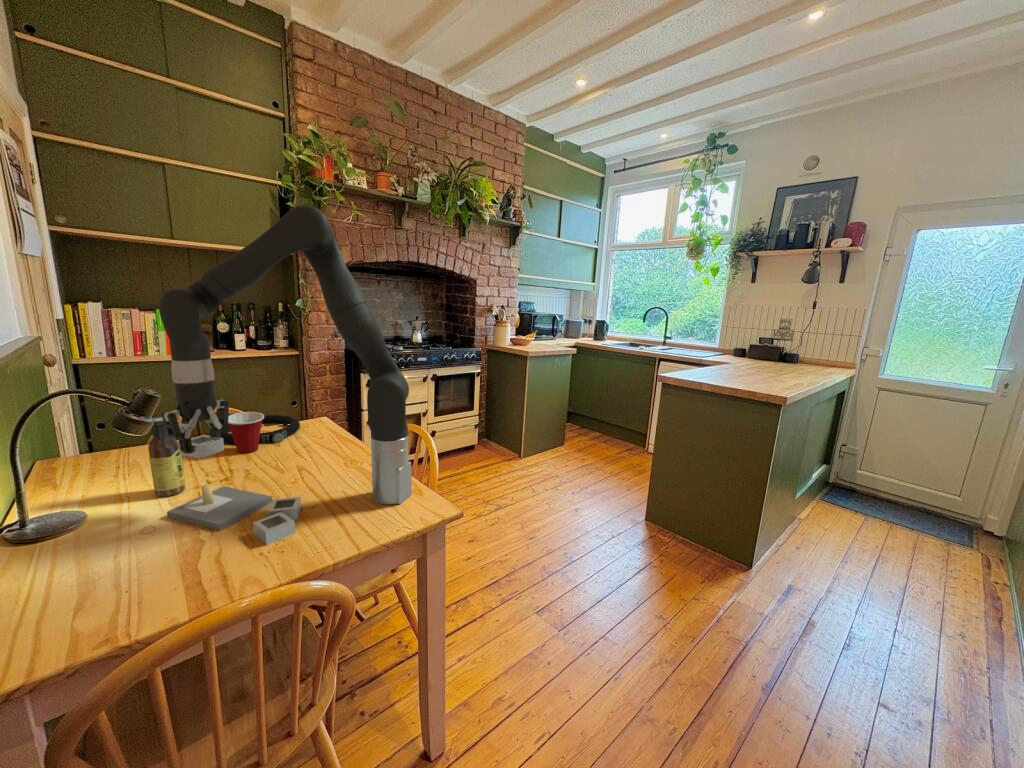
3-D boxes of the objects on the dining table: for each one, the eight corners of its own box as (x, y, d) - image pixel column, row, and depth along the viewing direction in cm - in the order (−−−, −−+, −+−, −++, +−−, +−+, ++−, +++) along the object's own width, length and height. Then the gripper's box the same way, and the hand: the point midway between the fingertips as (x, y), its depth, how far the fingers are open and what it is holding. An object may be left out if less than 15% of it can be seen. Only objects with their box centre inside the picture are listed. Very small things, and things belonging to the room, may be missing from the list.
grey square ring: (224, 450, 98) (223, 438, 98) (199, 458, 93) (198, 446, 92) (205, 446, 100) (204, 434, 99) (179, 454, 94) (178, 442, 94)
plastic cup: (231, 459, 128) (227, 423, 126) (225, 449, 136) (222, 414, 134) (270, 452, 136) (267, 417, 133) (263, 442, 143) (260, 410, 141)
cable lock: (280, 410, 172) (316, 425, 154) (280, 418, 173) (317, 434, 155) (201, 423, 150) (233, 443, 133) (202, 433, 151) (234, 454, 133)
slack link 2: (282, 523, 95) (281, 511, 94) (295, 533, 91) (294, 520, 91) (254, 534, 90) (253, 522, 89) (266, 545, 86) (265, 532, 86)
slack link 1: (301, 507, 102) (300, 496, 101) (297, 520, 96) (296, 508, 96) (274, 510, 100) (273, 499, 99) (268, 523, 94) (267, 511, 94)
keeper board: (272, 501, 104) (270, 480, 103) (220, 530, 91) (217, 505, 90) (224, 491, 108) (222, 470, 107) (167, 517, 95) (164, 493, 94)
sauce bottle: (188, 492, 107) (179, 419, 103) (157, 500, 102) (146, 424, 98) (183, 484, 111) (174, 414, 107) (153, 491, 107) (142, 418, 103)
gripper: (172, 386, 85) (182, 461, 88) (235, 374, 99) (242, 440, 102) (146, 382, 87) (157, 456, 90) (212, 372, 101) (219, 436, 104)
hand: (202, 447), depth 96 cm, fingers closed on grey square ring, 6 cm apart
